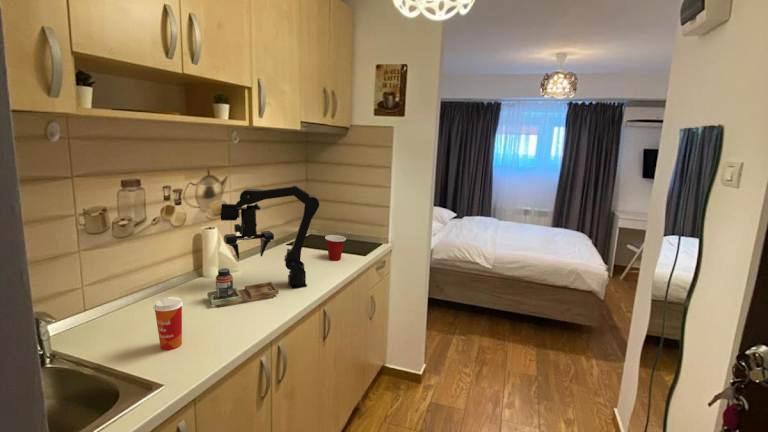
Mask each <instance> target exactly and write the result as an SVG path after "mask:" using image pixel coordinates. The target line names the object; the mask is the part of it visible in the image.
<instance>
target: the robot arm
mask: <svg viewBox="0 0 768 432" xmlns="http://www.w3.org/2000/svg"><path fill="white" fill-rule="evenodd" d="M292 196H293V197H295V198H296V199H298V201H300V202H301V203H303V211H302V217H301V219H300V223H299V227H298V229H297V233H296V235H295V239H294V241H293V245H292V246H291V248H287V249H286V254H285V255H284V258H283V259H284V262H285V264H284V266H285V268H287V270H288V275H287V285H288V286H289V287H290V288H292V289H299V288H304V287H307V286H308V285H307V283H306V279H307V278H306V277H307V275H306V270H305V263H304V262H303V261H301V255H302V249H303V247H304V246H303V245H304V244H305V239H306V238H307V235H308V231H309V227H310V225H311V222H312V219H313V218H314V216H315V214H316V213H317V211H318V210H319V208H320V201H319V199H318V197H317V196H316V195H314V194H313V195H312V194H309V193H308V192H306V191H304V190H303V189H302V188H301V187H300V186H298V185H296V184H294V185H291V186H290V185H289V186H282V187H275V188H267V189H266V188H265V189H262V188H261V189H260V188H245V189H243V191H242V192H240V194H239V200H237V202H236V203H221V208H220V221H222V222H227V221H233V222H234V221H235V222H236V221H238V219H241V221H240V223H238V224H237V223H236V224H234V232H235V233H239V235H236V234H235V233H229V234H224V235H223V242H224V243H225V244H226V245H229V246H230V247H232V249H233V251H234V254H235V256H236V258H237V260H239V259H240V251H239V244H238V243H237V242H239V241H248V240H257V239H260V249H259V250H260V251H259V254H260V257H263V255H264V252H265V250H266V248H267V246H268V244H269V243H272V242H271V241H273V240H275V234H274V233H273V232H272V231H270V230H264V231H263V230H262V231H260V233H257V225H258V223H257V211H260V210H261V207H262V206H260V205H259V204H258V203H259V202H262V201H264V200H272V199H277V198H279V199H280V198H285V197H292Z"/></svg>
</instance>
